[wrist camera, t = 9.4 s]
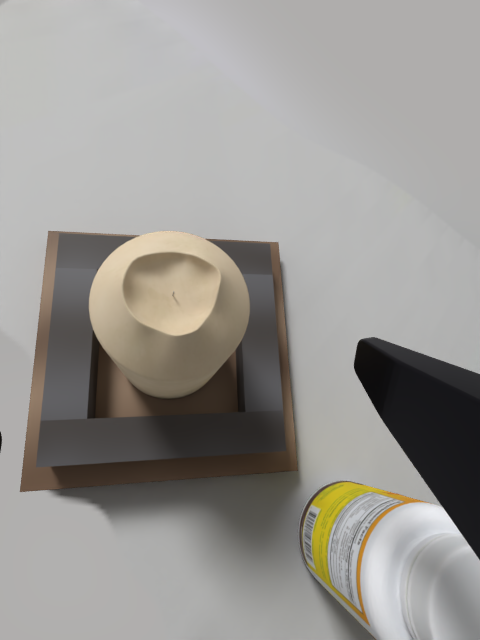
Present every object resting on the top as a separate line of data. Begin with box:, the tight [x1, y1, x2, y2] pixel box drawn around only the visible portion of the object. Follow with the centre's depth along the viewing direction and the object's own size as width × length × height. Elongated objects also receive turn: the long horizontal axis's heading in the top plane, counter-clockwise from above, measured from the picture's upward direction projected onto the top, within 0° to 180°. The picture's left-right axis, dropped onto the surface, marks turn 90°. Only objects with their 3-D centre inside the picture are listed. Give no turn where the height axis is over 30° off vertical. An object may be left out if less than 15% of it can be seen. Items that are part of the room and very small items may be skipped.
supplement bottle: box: [298, 481, 480, 640], centre depth 16 cm, size 6×6×10 cm
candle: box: [89, 231, 250, 399], centre depth 16 cm, size 6×6×10 cm
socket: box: [20, 231, 298, 492], centre depth 20 cm, size 14×14×3 cm
